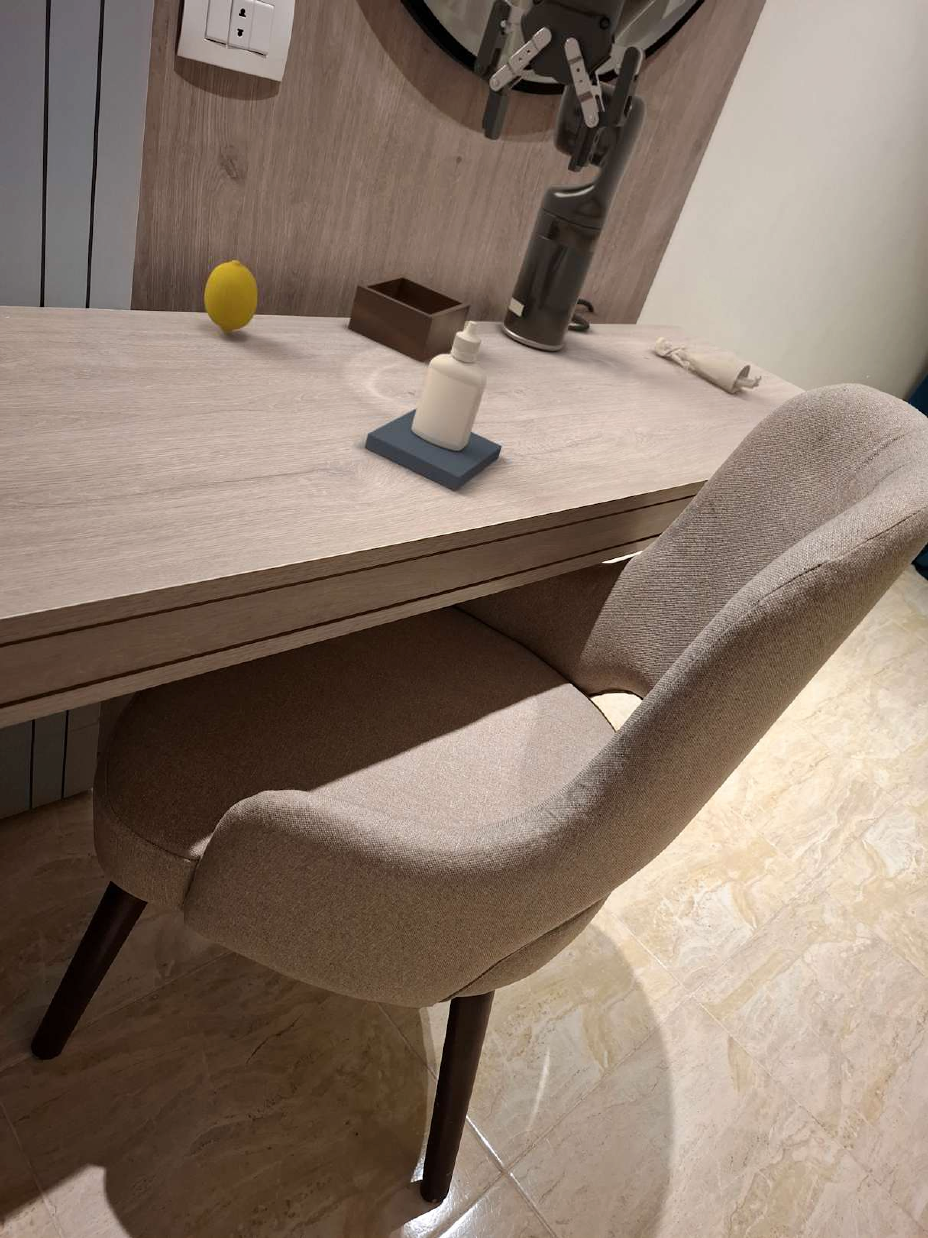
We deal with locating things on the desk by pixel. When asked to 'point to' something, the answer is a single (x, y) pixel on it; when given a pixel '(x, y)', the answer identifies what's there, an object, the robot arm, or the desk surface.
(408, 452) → the block
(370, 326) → the box
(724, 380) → the woman figurine
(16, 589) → the desk surface
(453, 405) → the eye dropper bottle
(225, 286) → the lemon
